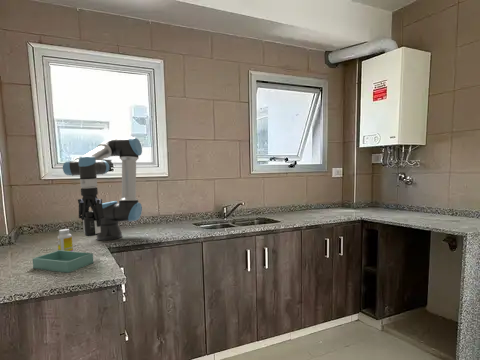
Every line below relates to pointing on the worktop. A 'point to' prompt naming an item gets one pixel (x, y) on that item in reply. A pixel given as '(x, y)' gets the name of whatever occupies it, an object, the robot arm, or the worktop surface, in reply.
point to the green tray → (63, 261)
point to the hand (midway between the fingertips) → (92, 232)
